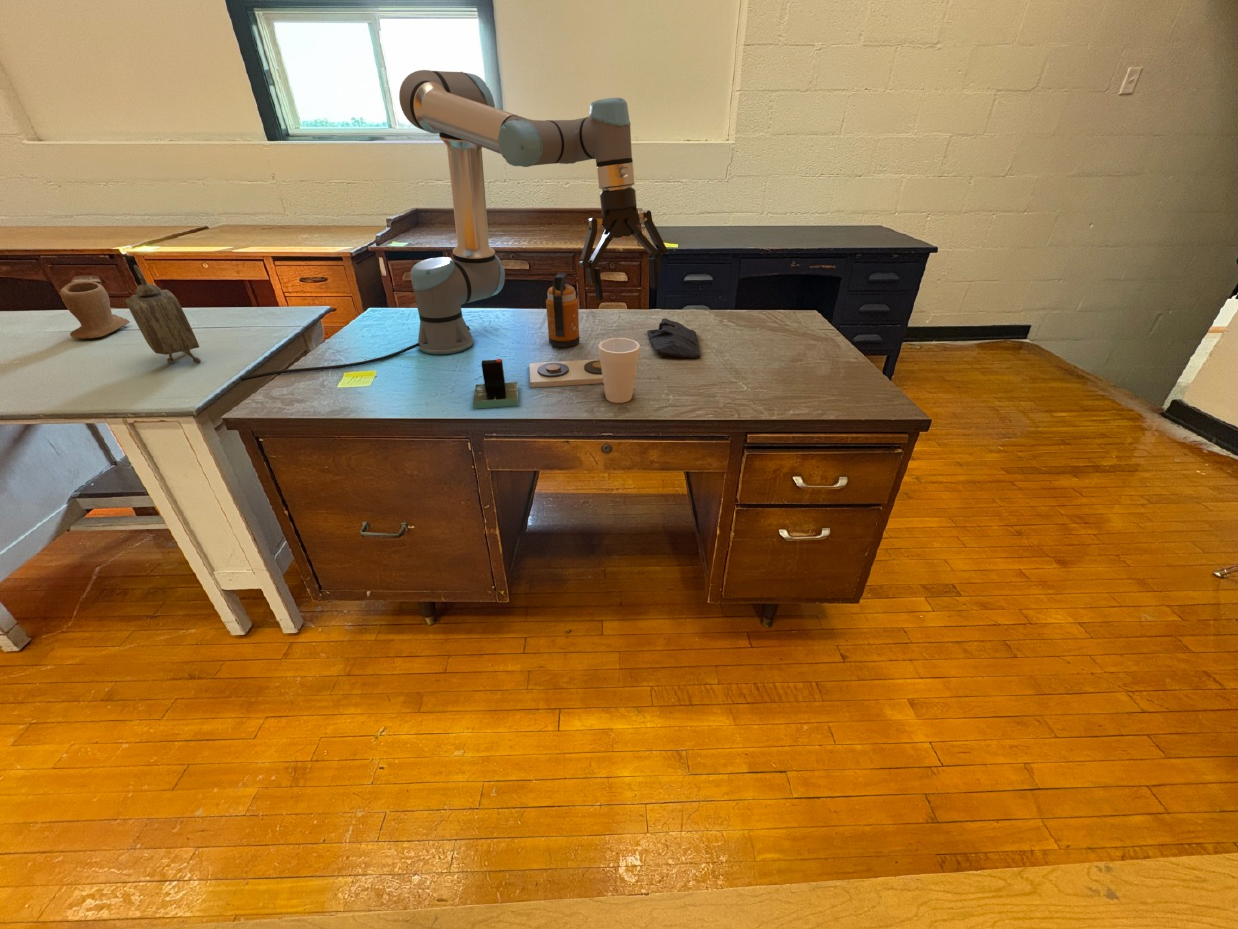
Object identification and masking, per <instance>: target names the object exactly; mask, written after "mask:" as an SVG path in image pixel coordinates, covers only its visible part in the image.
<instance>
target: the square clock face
mask: <svg viewBox="0 0 1238 929" xmlns="http://www.w3.org/2000/svg"><path fill="white" fill-rule="evenodd" d="M505 385H506V392H499V393H486V391H485V384H484V383H479V384H475V387H474V393H473V399H472V400H473V401H472V404H473V409H474V410H481V409H494V408H495V409H497V408H509V407H511V408H512V407H519V383H518V381H513V382H505Z"/></svg>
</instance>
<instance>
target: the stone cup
mask: <svg viewBox="0 0 1238 929" xmlns="http://www.w3.org/2000/svg"><path fill="white" fill-rule="evenodd" d="M59 295H60V297H61V300H62V302H63V304H64V306H65V307H66V309H67V310H68V311H69V313H70V314H71V315H72V316H73V317H75V319H76V320H77V321H78V322H79V323H80V327H77V328H75V329H74V330H72V331H71V332H70V333H69V337H71V338H75V339H95V338H97V339H98V338H102V337H104V336H107V335H109V334H111V333H114V332H115V331H117V330H119V329H122V328H123V327H125V326H126V325H128V324H130V323H131V322H130V320H129V319H128V318H124V317H123V316H119V315H117V314H113V312H112V307H111V301H110V296H109V294H108V292H107V290H106V289H105V287H104V286H103V285H102V284H100V283H98V282H96V281H90V280H89V281H88V280H87V281H86V280H85V281H83V280H82V281H81V280H79V281H75V282H70V283H67V284H66V285H65V286H63V287H62V288H61V289H60V291H59ZM124 325H125V326H124Z"/></svg>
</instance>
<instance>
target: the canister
mask: <svg viewBox="0 0 1238 929" xmlns="http://www.w3.org/2000/svg"><path fill="white" fill-rule="evenodd" d="M567 279H568V274H567V272H557V274H556V275H554V276H553V282H552V286H551V287H549V288H548V290H547V298H546V300H545V305H546V306H545V307H546V318H547V319H546V320H547V331H548V332H547V334H548V343H549V344H550V345H552V346H554V347H557V348H570V347H572V346H575V345H577V344H579V343H580V323H579V322H580V321H579V298H577V294H576V293H577V292H576V290H575V287H574V286H572V285H571V284H568V283H567Z"/></svg>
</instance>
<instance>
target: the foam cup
mask: <svg viewBox="0 0 1238 929" xmlns="http://www.w3.org/2000/svg"><path fill="white" fill-rule="evenodd" d="M597 349H598V357H599V359H600V363H601V369H602V376H603V382H604V383H603V389H604V395H605V399H606V400H607V401H609V402H610V403H616V404H622V403H627V402H629V401H631V400H632V398H633V393H634V389H635V388H634V387H635V381H636V374H637V369H638V364H639V358H640V356H641V344H640V343H639V342H638V341H636V340H634V339H631V338H626V337H611V338H606V339H604V340H602V341H600V342H599V344H598V347H597Z"/></svg>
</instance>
